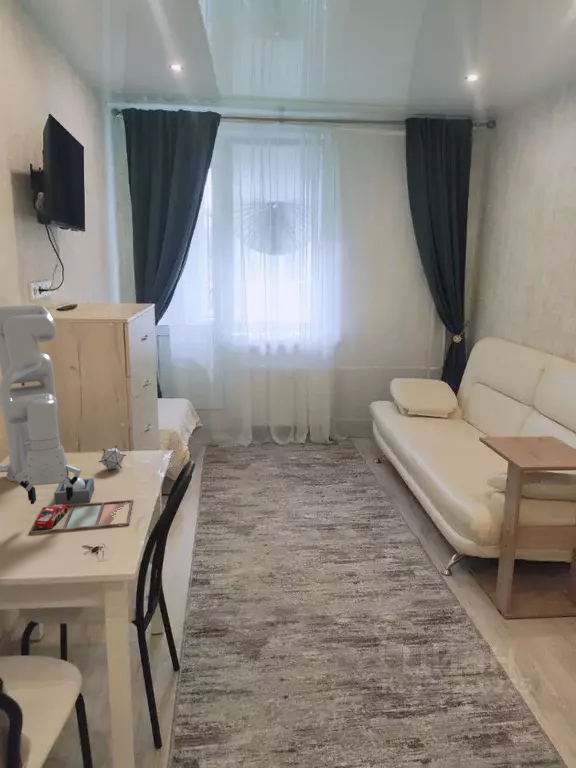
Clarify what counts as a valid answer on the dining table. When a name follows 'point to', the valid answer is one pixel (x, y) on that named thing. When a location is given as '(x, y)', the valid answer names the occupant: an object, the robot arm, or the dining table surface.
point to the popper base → (75, 493)
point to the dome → (77, 485)
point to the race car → (50, 516)
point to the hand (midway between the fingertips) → (51, 500)
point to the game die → (112, 458)
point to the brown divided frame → (89, 516)
